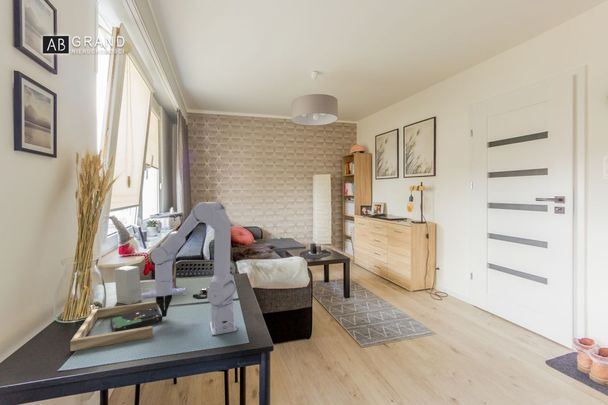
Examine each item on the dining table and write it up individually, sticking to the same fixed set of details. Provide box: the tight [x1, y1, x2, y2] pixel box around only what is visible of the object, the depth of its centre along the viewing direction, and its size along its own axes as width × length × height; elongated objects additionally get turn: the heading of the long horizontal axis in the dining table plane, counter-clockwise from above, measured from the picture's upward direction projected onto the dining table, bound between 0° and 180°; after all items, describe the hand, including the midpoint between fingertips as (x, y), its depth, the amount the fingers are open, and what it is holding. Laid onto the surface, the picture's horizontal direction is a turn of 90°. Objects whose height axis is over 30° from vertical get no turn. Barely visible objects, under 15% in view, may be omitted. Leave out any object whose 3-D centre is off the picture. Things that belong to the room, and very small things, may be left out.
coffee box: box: [172, 256, 177, 288], centre depth 138 cm, size 9×6×16 cm
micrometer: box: [192, 286, 210, 300], centre depth 134 cm, size 15×7×2 cm, turn 155°
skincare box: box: [114, 265, 142, 305], centre depth 123 cm, size 8×6×15 cm
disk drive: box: [109, 308, 163, 332], centre depth 104 cm, size 10×3×15 cm
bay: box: [69, 300, 159, 352], centre depth 101 cm, size 25×22×3 cm
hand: (164, 315), depth 107 cm, fingers closed
